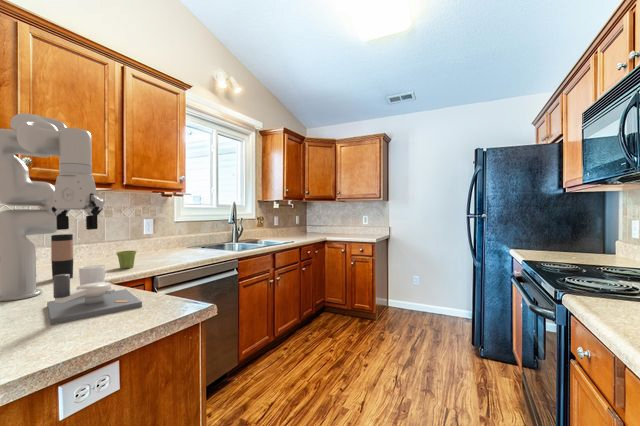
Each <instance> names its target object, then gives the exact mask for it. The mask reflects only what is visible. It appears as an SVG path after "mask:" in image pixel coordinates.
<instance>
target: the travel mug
mask: <svg viewBox="0 0 640 426" xmlns="http://www.w3.org/2000/svg"><path fill="white" fill-rule="evenodd" d="M50 237H51V239H50V240H51V244H50V245H51V246H50V247H51V251H50V256H51V258H50V259H51V260H50V261H51V262H50V263H51V275H52V277H51V278H52V279H53V276H55V275H60V274H70V279H72V278H74V238H73V234H71V233H70V234H69V233H68V234H67V233H66V234H63V233H62V234H52V235H51V236H50Z"/></svg>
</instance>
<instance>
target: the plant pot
mask: <svg viewBox="0 0 640 426" xmlns="http://www.w3.org/2000/svg"><path fill="white" fill-rule="evenodd" d="M115 253H116V255H117V258H118V263H119V268H120V269H123V270H124V269H133V268H134V266H135V258H136V254H137V250H123V251H122V250H121V251H117V252H115Z"/></svg>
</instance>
